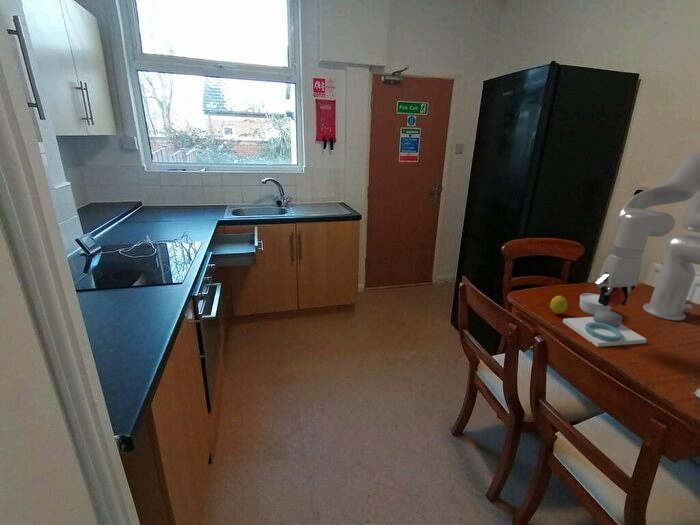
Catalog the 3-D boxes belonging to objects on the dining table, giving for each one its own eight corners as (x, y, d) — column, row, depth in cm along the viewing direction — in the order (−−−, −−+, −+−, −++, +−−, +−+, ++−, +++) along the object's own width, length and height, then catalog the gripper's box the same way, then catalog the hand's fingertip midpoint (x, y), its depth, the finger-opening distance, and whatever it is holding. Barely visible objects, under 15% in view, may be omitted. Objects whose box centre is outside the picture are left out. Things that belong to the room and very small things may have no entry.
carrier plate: (605, 319, 129) (609, 308, 128) (645, 343, 114) (649, 331, 113) (562, 322, 127) (565, 311, 125) (597, 346, 112) (600, 334, 111)
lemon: (566, 318, 130) (571, 299, 127) (551, 316, 131) (555, 298, 128) (561, 311, 135) (566, 293, 132) (546, 310, 136) (550, 291, 133)
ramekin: (587, 302, 143) (591, 291, 141) (617, 314, 133) (620, 302, 132) (570, 307, 138) (573, 295, 137) (599, 320, 129) (603, 307, 127)
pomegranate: (595, 302, 116) (602, 281, 113) (611, 302, 116) (618, 280, 114) (609, 311, 110) (616, 288, 108) (625, 310, 111) (633, 288, 108)
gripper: (640, 247, 111) (624, 297, 118) (592, 249, 109) (579, 300, 115) (662, 255, 104) (644, 307, 111) (612, 257, 102) (597, 310, 108)
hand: (611, 303), depth 113 cm, fingers closed on pomegranate, 5 cm apart
